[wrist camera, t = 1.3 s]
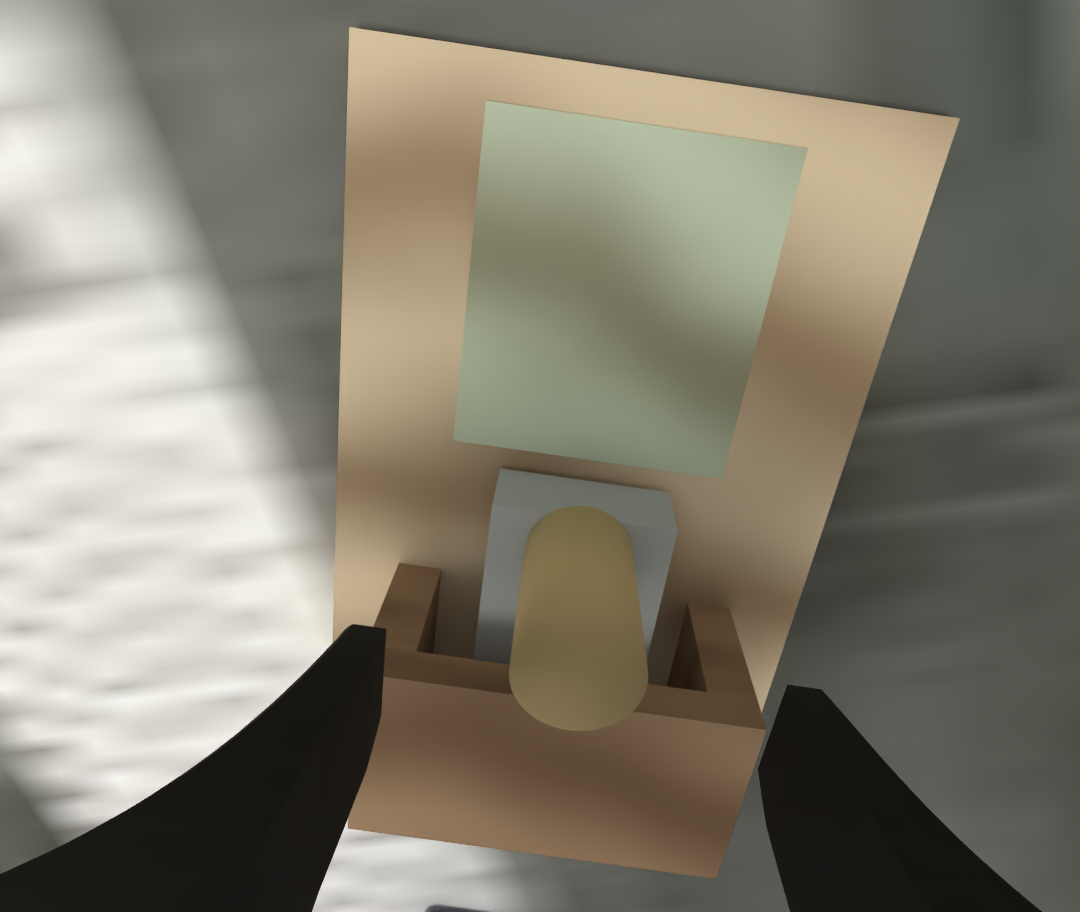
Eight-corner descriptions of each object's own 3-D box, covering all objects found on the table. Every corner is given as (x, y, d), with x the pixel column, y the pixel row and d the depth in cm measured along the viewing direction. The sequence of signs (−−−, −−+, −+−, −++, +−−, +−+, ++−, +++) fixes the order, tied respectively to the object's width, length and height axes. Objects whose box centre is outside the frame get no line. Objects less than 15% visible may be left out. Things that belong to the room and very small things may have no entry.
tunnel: (691, 742, 23) (715, 878, 19) (389, 700, 23) (347, 828, 19) (730, 609, 21) (767, 730, 17) (398, 563, 21) (354, 672, 17)
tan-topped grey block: (614, 726, 23) (627, 934, 17) (470, 705, 23) (433, 907, 17) (671, 482, 20) (710, 638, 14) (501, 457, 19) (468, 604, 14)
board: (709, 845, 26) (712, 863, 25) (333, 793, 26) (327, 810, 25) (946, 118, 17) (961, 118, 16) (357, 30, 16) (347, 26, 16)
